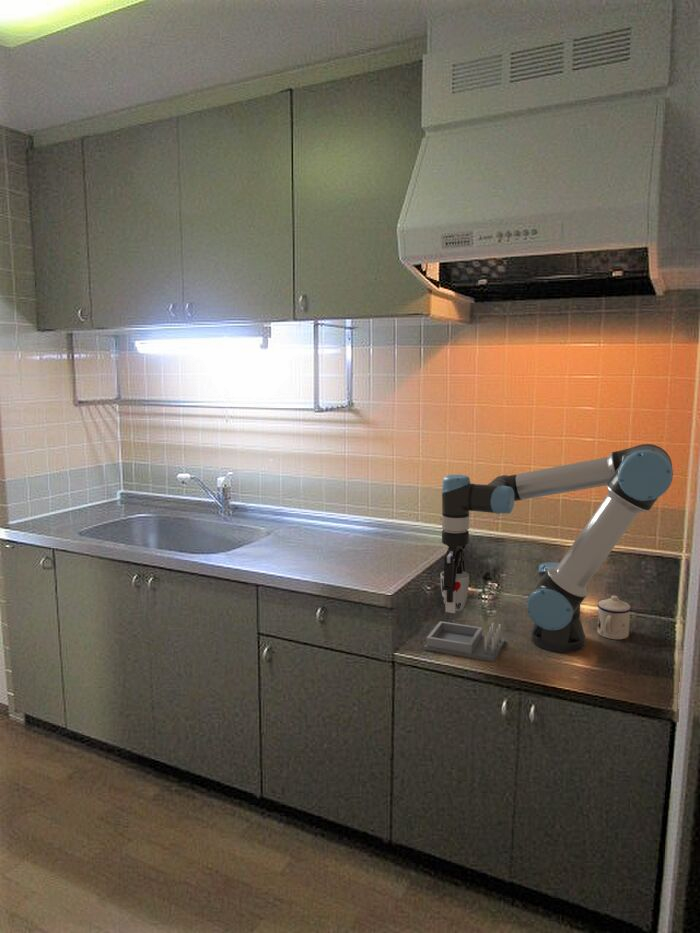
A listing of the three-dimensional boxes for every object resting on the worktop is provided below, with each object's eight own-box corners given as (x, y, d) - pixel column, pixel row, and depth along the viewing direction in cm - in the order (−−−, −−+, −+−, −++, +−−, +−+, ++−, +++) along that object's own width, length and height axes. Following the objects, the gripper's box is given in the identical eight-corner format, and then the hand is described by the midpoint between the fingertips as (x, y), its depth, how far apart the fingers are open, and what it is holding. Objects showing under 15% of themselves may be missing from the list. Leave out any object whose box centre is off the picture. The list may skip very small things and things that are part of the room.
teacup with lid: (601, 625, 201) (602, 589, 199) (632, 632, 196) (634, 594, 194) (590, 639, 192) (591, 601, 190) (622, 646, 186) (624, 607, 184)
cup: (434, 608, 188) (435, 575, 186) (449, 600, 194) (449, 568, 193) (459, 615, 183) (460, 581, 181) (474, 606, 189) (474, 573, 188)
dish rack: (505, 641, 191) (505, 622, 190) (494, 661, 179) (494, 641, 178) (438, 631, 199) (438, 612, 198) (424, 649, 187) (424, 629, 186)
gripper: (452, 520, 196) (451, 593, 199) (431, 537, 177) (431, 617, 181) (477, 522, 192) (476, 597, 196) (458, 540, 174) (457, 622, 178)
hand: (454, 607), depth 188 cm, fingers closed on cup, 8 cm apart
